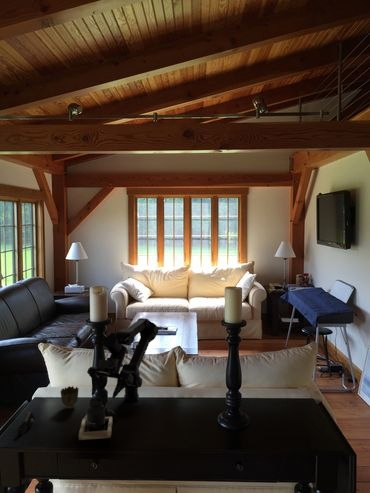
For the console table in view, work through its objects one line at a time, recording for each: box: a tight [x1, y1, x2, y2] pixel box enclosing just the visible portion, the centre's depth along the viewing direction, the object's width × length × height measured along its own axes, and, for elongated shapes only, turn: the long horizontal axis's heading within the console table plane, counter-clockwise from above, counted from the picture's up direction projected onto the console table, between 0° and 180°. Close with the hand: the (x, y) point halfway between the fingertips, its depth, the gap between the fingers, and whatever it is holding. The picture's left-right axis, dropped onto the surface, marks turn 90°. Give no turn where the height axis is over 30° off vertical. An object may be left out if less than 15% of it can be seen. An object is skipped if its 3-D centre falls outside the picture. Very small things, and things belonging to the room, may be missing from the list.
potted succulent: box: [60, 385, 80, 410], centre depth 167 cm, size 8×7×8 cm
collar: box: [78, 416, 113, 441], centre depth 149 cm, size 11×11×2 cm
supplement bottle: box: [86, 396, 106, 432], centre depth 149 cm, size 7×7×12 cm
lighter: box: [17, 411, 36, 436], centre depth 150 cm, size 9×2×6 cm
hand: (102, 396), depth 153 cm, fingers open, 9 cm apart
